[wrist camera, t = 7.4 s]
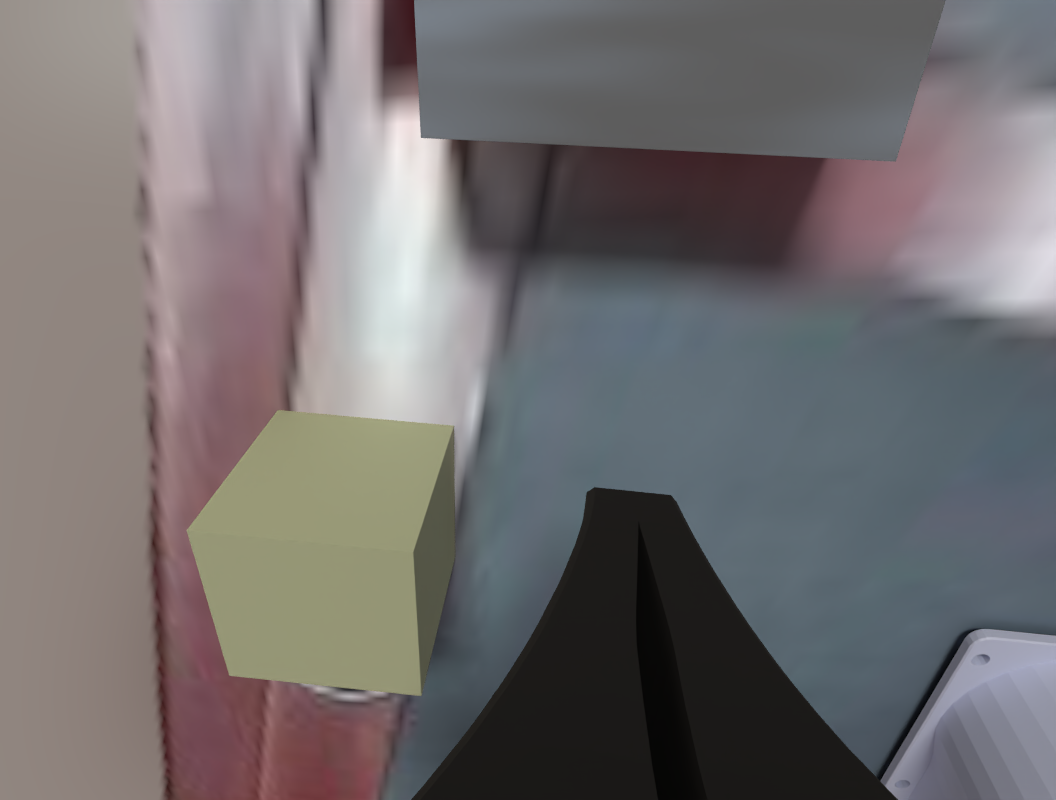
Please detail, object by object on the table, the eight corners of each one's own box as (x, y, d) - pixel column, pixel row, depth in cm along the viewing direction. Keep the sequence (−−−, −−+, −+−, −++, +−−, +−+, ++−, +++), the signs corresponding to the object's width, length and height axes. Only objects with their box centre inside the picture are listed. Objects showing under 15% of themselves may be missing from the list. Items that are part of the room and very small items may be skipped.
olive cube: (455, 554, 21) (421, 695, 17) (301, 540, 21) (229, 675, 17) (454, 424, 18) (412, 552, 14) (278, 409, 19) (186, 530, 14)
